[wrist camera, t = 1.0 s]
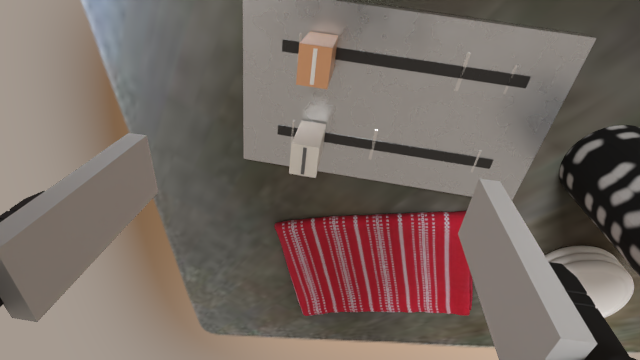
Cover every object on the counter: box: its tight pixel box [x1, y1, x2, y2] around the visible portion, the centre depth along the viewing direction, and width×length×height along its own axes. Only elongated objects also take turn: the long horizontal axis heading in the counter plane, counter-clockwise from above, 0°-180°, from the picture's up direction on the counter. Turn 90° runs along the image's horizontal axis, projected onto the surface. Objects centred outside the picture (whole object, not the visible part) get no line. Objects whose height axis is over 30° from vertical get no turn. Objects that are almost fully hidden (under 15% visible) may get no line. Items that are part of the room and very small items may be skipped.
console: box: [243, 0, 596, 200], centre depth 32 cm, size 16×28×2 cm, turn 83°
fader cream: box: [289, 120, 326, 178], centre depth 32 cm, size 3×2×5 cm
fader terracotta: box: [296, 31, 338, 89], centre depth 27 cm, size 3×2×5 cm
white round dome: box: [545, 246, 634, 318], centre depth 41 cm, size 10×10×4 cm
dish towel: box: [274, 211, 473, 316], centre depth 45 cm, size 17×24×3 cm
